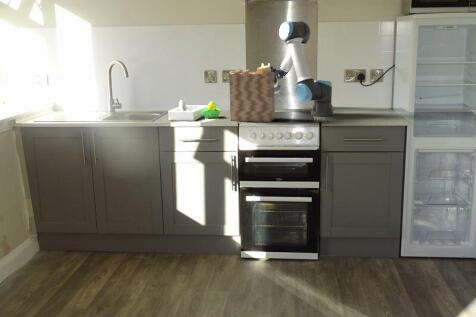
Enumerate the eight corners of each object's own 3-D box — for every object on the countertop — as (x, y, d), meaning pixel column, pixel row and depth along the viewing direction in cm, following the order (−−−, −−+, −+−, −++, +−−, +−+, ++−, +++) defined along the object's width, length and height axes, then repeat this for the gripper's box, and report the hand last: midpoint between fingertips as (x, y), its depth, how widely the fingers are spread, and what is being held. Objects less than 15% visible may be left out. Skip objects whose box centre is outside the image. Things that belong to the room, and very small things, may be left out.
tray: (207, 114, 358) (207, 105, 357) (193, 120, 331) (193, 111, 330) (184, 113, 363) (184, 105, 361) (168, 120, 336) (168, 111, 335)
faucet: (189, 114, 336) (186, 93, 349) (174, 119, 337) (171, 98, 350) (196, 127, 347) (193, 107, 360) (181, 132, 348) (179, 111, 361)
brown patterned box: (274, 118, 334) (274, 69, 327) (270, 121, 321) (269, 71, 313) (236, 117, 341) (235, 69, 334) (230, 120, 328) (229, 71, 320)
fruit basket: (218, 116, 349) (217, 99, 347) (221, 118, 341) (220, 101, 338) (201, 117, 346) (201, 100, 344) (204, 119, 338) (204, 102, 335)
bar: (270, 71, 336) (270, 65, 336) (262, 73, 314) (262, 68, 313) (265, 71, 337) (265, 65, 337) (257, 73, 315) (257, 68, 314)
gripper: (283, 85, 347) (277, 70, 325) (259, 85, 351) (252, 70, 329) (284, 75, 349) (278, 59, 327) (260, 75, 353) (253, 59, 331)
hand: (265, 65), depth 328 cm, fingers closed on bar, 3 cm apart
